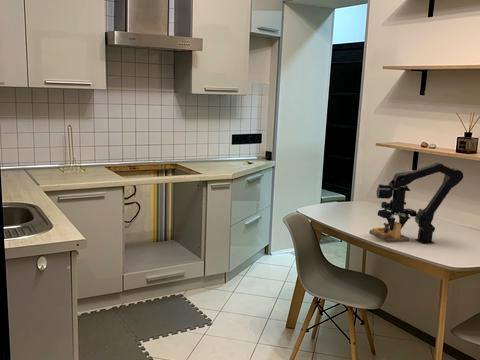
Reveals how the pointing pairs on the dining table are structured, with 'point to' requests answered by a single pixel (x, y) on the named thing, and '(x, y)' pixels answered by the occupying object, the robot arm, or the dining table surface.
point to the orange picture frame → (394, 233)
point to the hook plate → (389, 238)
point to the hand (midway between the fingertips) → (395, 230)
